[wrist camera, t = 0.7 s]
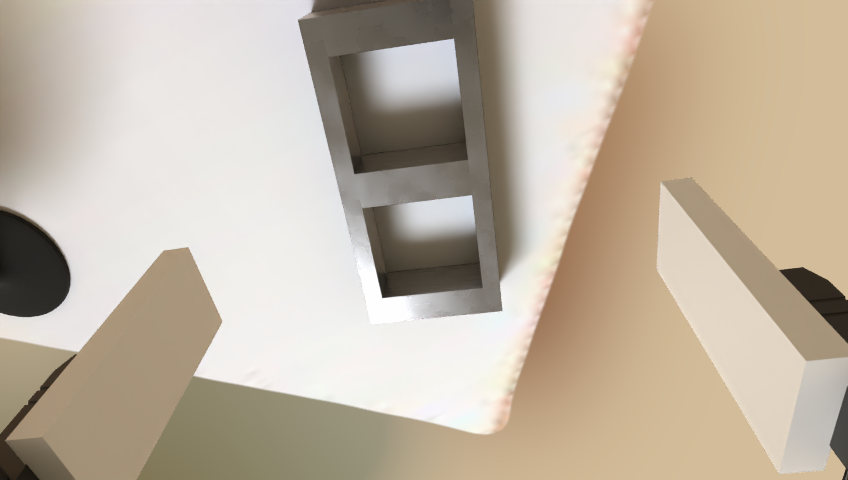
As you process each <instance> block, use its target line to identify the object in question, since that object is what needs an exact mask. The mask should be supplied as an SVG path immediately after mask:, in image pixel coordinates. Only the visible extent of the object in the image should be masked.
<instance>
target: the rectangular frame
mask: <svg viewBox="0 0 848 480" xmlns="http://www.w3.org/2000/svg"><path fill="white" fill-rule="evenodd" d="M298 22H299V27H300V31H301V35H302V39H303V43H304V47H305V51H306V55H307V60H308V64H309V68H310V72H311V76H312V80H313V84H314V88H315V93H316V97H317V101H318V105H319V109H320V113H321V117H322V122H323V126H324V130H325V134H326V138H327V142H328V146H329V150H330V155H331V159H332V163H333V167H334V171H335V175H336V179H337V183H338V188H339V192H340V196H341V200H342V204H343V208H344V212H345V217H346V221H347V225H348V229H349V233H350V237H351V241H352V245H353V250H354V254H355V258H356V262H357V266H358V270H359V274H360V278H361V283H362V287H363V291H364V295H365V299H366V303H367V307H368V312H369V316H370V320H371V324H375V323H385V322H395V321H406V320H416V319H426V318H436V317H446V316H456V315H467V314H477V313H487V312H497V311H502V302H501V292H500V282H499V271H498V261H497V250H496V240H495V230H494V219H493V209H492V198H491V188H490V178H489V167H488V157H487V146H486V136H485V126H484V115H483V105H482V94H481V84H480V74H479V63H478V53H477V42H476V32H475V22H474V11H473V1H472V0H387V1H381V2H374V3H368V4H362V5H355V6H349V7H343V8H336V9H330V10H324V11H317V12H311V13H309V14H308V15H306V16H304V17H302V18H301V19H299V20H298ZM453 38H454V41H455V50H456V58H457V67H458V76H459V85H460V93H461V102H462V111H463V120H464V128H465V137H466V142H461V143H454V144H446V145H438V146H431V147H423V148H415V149H407V150H400V151H392V152H384V153H377V154H369V155H361V151H360V147H359V142H358V137H357V132H356V128H355V123H354V118H353V114H352V109H351V104H350V100H349V95H348V90H347V86H346V81H345V76H344V72H343V67H342V62H341V58H340V55H346V54H353V53H359V52H366V51H373V50H380V49H386V48H393V47H400V46H406V45H413V44H420V43H426V42H433V41H440V40H447V39H453ZM468 195H472V198H473V207H474V216H475V224H476V233H477V242H478V250H479V259H480V263H474V264H465V265H455V266H446V267H437V268H427V269H418V270H409V271H399V272H390V273H386V268H385V264H384V259H383V254H382V250H381V245H380V240H379V236H378V231H377V226H376V221H375V217H374V212H373V207H377V206H385V205H393V204H402V203H410V202H418V201H427V200H435V199H443V198H452V197H460V196H468Z"/></svg>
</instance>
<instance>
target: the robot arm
mask: <svg viewBox="0 0 848 480" xmlns="http://www.w3.org/2000/svg"><path fill="white" fill-rule="evenodd" d="M657 271H658V272H659V274H660V276H661V277H662V279H663V281H664V282H665V284H666V286H667V287H668V289H669V291H670V292H671V294H672V296H673V297H674V299H675V300H676V302H677V304H678V306H679V307H680V309H681V311H682V312H683V314H684V316H685V317H686V319H687V321H688V322H689V324H690V326H691V327H692V329H693V331H694V332H695V334H696V336H697V337H698V339H699V341H700V343H701V344H702V346H703V348H704V349H705V351H706V352H707V354H708V356H709V357H710V359H711V361H712V363H713V364H714V366H715V368H716V369H717V371H718V373H719V374H720V376H721V377H722V379H723V381H724V383H725V384H726V386H727V387H728V389H729V391H730V393H731V394H732V396H733V398H734V399H735V401H736V403H737V404H738V406H739V408H740V409H741V411H742V413H743V414H744V416H745V418H746V419H747V421H748V423H749V424H750V426H751V428H752V429H753V431H754V433H755V434H756V436H757V438H758V439H759V441H760V443H761V445H762V446H763V448H764V450H765V451H766V453H767V454H768V456H769V458H770V460H771V461H772V463H773V465H774V466H775V468H776V470H777V471H778V473H779V474H783V473H797V472H810V471H822V470H825V466H826V463H827V460H828V457H829V453H830V450H831V448H832V450H833V451H834V452H835V454H836V455H837V457H838V458H839V459H840V461H841V462H842V463H843V465H844V466H845V468H846V470H845V473H844V476H843V479H842V480H848V300H846V299H845V296H844V295H843V294H842V293H841V292H840V291H839V290H838V289H837V288H836V287H834V286H833V284H831V283H830V282H829V281H828V280H827V279H825V278H822V277H821V276H819V275H817V274H815V273H813V272H811V271H809V270H807V269H805V268H803V267H802V268H793V269H784V270H778V269H777V268H776V267H775V266H774V265H773V264H772V263H771V262H770V260H769V259H768V258H767V257H766V256H765V255H764V254H763V253H762V252H761V251H760V250H759V249H758V248H757V247H756V245H755V244H753V242H752V241H751V240H750V239H749V238H748V237H747V236H746V235H745V234H744V233H743V232H742V231H741V229H740V228H738V226H737V225H736V224H735V223H734V222H733V221H732V220H731V219H730V218H729V217H728V216H727V215H726V214H725V212H724V211H723V210H722V209H721V208H720V207H719V206H718V205H717V204H716V203H715V202H714V201H713V200H712V199H711V198H710V197H709V195H708V194H707V193H706V192H705V191H704V190H703V189H702V188H701V187H700V186H699V185H698V184H697V183H696V182H695V181H694V180H693V178H684V179H678V180H670V181H663V182H661V191H660V211H659V232H658V251H657ZM221 323H222V320H221V317H220V315H219V313H218V311H217V309H216V306H215V304H214V302H213V300H212V298H211V296H210V293H209V291H208V289H207V287H206V285H205V283H204V280H203V278H202V276H201V274H200V272H199V269H198V267H197V265H196V263H195V261H194V259H193V256H192V254H191V252H190V250H189V248H188V247H187V248H180V249H173V250H166V251H163V252H162V253H161V254H160V256H159V257H158V258H157V259H156V260H155V262H154V263H153V264H152V265H151V266H150V268H149V269H148V270H147V271H146V272H145V274H144V275H143V276H142V277H141V278H140V280H139V281H138V282H137V283H136V284H135V286H134V287H133V288H132V289H131V290H130V292H129V293H128V294H127V295H126V296H125V298H124V299H123V300H122V301H121V302H120V304H119V305H118V306H117V307H116V308H115V310H114V311H113V312H112V313H111V314H110V316H109V317H108V318H107V319H106V320H105V322H104V323H103V324H102V325H101V326H100V328H99V329H98V330H97V331H96V332H95V333H94V335H93V336H92V337H91V338H90V339H89V341H88V342H87V343H86V344H85V345H84V347H83V348H82V349H81V350H80V351H79V353H78V354H75V355H74V356H73V357H71V358H70V359H69V360H67V361H66V362H65V363H64V364H62V365H61V366H60V367H59V368H57V369H56V370H55V371H54V372H53V373H52V374H51V375H50V376H49V378H48V379H47V380H46V381H45V383H44V384H43V385H42V386H41V387H40V391H37V392H36V393H35V394H34V395H33V396H32V398H31V399H30V400H29V401H28V405H25V406H24V407H23V408H22V409H21V411H20V412H19V413H18V414H17V415H16V417H14V419H13V420H12V421H11V422H10V423H9V425H8V426H7V427H6V428H5V429H4V430H3V432H2V433H1V434H0V480H136V479H137V478H138V476H139V474H140V472H141V470H142V468H143V466H144V465H145V463H146V461H147V459H148V457H149V455H150V454H151V452H152V450H153V448H154V446H155V445H156V443H157V441H158V439H159V437H160V435H161V434H162V432H163V430H164V428H165V426H166V424H167V423H168V421H169V419H170V417H171V415H172V413H173V412H174V410H175V408H176V406H177V404H178V402H179V400H180V399H181V397H182V395H183V393H184V391H185V390H186V388H187V386H188V384H189V382H190V380H191V378H192V377H193V375H194V373H195V371H196V369H197V368H198V366H199V364H200V362H201V360H202V358H203V356H204V355H205V353H206V351H207V349H208V347H209V345H210V344H211V342H212V340H213V338H214V336H215V334H216V333H217V331H218V329H219V327H220V325H221Z"/></svg>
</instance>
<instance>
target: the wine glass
mask: <svg viewBox="0 0 848 480" xmlns="http://www.w3.org/2000/svg"><path fill="white" fill-rule="evenodd" d="M69 287H70V275H69V270H68V267H67V264H66V261H65V260H64V258H63V256H62V254H61V253H60V251H59V250H58V248H57V247H56V246H55V244H54V243H53V242H52V241H51V240H50V239H49V238H48V237H47V236H46V235H45V234H44V233H43V232H41V231H40V230H39V229H38V228H36V227H35V226H33V225H32V224H30V223H29V222H27V221H25V220H23V219H22V218H20V217H18V216H15V215H13V214H10V213H8V212H4V211H1V210H0V313H3V314H7V315H11V316H18V317H34V316H40V315H44V314H47V313H49V312H51V311H53V310H54V309H56V308H57V307H58V306H59V305H60V304H61V303H62V302H63V301H64V300H65V298H66V296H67V294H68V292H69Z"/></svg>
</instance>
